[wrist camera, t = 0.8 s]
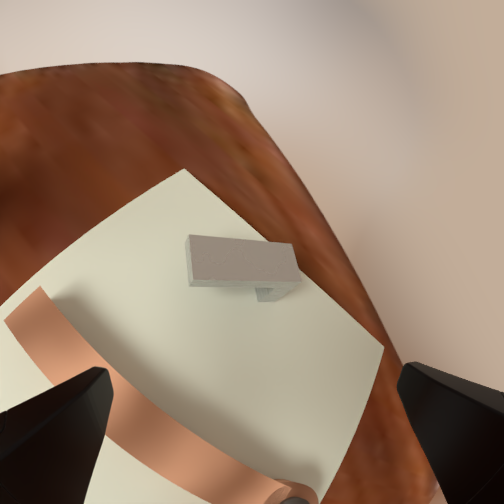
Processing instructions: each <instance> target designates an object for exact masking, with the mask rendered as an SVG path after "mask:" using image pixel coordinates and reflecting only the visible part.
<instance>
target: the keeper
mask: <svg viewBox="0 0 504 504" xmlns="http://www.w3.org/2000/svg"><path fill="white" fill-rule="evenodd" d="M185 252H186V264H187V275H188V285H189V287H236V288H255V292H256V297H257V302H275V301H276V300H278V299H279V298H280V297H282V296H283V295H285V294H286V293H287V292H289V291H290V290H292V289H293V288H294V287H296V286H297V285H299V284H300V283H301V282H302V279H301V276H300V272H299V268H298V265H297V261H296V258H295V254H294V250H293V247H292V244H286V243H276V242H266V241H256V240H246V239H235V238H225V237H214V236H203V235H192V234H189V235H188V237H187V239H186V241H185Z"/></svg>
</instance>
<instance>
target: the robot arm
mask: <svg viewBox="0 0 504 504" xmlns="http://www.w3.org/2000/svg"><path fill="white" fill-rule="evenodd" d="M397 391H398V394H399V396H400V399H401V401H402V404H403V406H404V409H405V411H406V414H407V417H408V419H409V422H410V424H411V426H412V429H413V431H414V433H415V435H416V437H417V439H418V441H419V443H420V445H421V447H422V449H423V451H424V453H425V455H426V457H427V459H428V461H429V463H430V465H431V468H432V470H433V472H434V474H435V476H436V478H437V481H438V483H439V485H440V487H441V489H442V492H443V494H444V496H445V499H446V501H447V503H448V504H504V392H500V391H498V390H495V389H491V388H489V387H486V386H483V385H480V384H477V383H474V382H471V381H468V380H465V379H462V378H459V377H457V376H454V375H451V374H448V373H446V372H443V371H440V370H437V369H435V368H432V367H429V366H427V365H424V364H421V363H418V362H410V363H406V364H405V365H404V366H403V368H402V371H401V374H400V377H399V379H398V382H397ZM113 397H114V390H113V386H112V382H111V378H110V374H109V371H108V369H106V368H104V367H98V366H94V367H91V368H90V369H88V370H86V371H84V372H82V373H80V374H78V375H76V376H74V377H72V378H70V379H68V380H66V381H64V382H62V383H60V384H58V385H56V386H54V387H52V388H50V389H48V390H46V391H44V392H42V393H40V394H38V395H36V396H34V397H32V398H30V399H28V400H26V401H24V402H22V403H20V404H18V405H16V406H14V407H12V408H10V409H8V410H7V411H3V412H1V413H0V504H84V501H85V498H86V494H87V491H88V487H89V484H90V481H91V477H92V474H93V471H94V468H95V464H96V461H97V458H98V455H99V452H100V449H101V446H102V443H103V440H104V437H105V432H106V428H107V423H108V419H109V414H110V410H111V406H112V401H113Z"/></svg>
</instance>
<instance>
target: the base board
mask: <svg viewBox="0 0 504 504" xmlns="http://www.w3.org/2000/svg"><path fill="white" fill-rule="evenodd" d="M189 234H192V235H203V236H214V237H225V238H235V239H246V240H256V241H266V242H268V241H267V240H266V239H265V238H264V237H263V236H261V235H260V234H259V233H258V232H257V231H256V230H255V229H253V228H252V227H251V226H250V225H249V224H248V223H247V222H245V221H244V220H243V219H242V218H241V217H240V216H239V215H237V214H236V213H235V212H234V211H233V210H232V209H231V208H229V207H228V206H227V205H226V204H225V203H224V202H222V201H221V200H220V199H219V198H218V197H217V196H216V195H214V194H213V193H212V192H211V191H210V190H209V189H207V188H206V187H205V186H204V185H203V184H202V183H200V182H199V181H198V180H197V179H196V178H195V177H193V176H192V175H191V174H190V173H189V172H188V171H186V170H185V169H183V170H181V171H179V172H178V173H176V174H174V175H173V176H171V177H169V178H168V179H166V180H164V181H163V182H161V183H159V184H158V185H156V186H155V187H153V188H151V189H150V190H148V191H147V192H145V193H144V194H142V195H140V196H139V197H137V198H136V199H134V200H133V201H131V202H130V203H128V204H127V205H125V206H124V207H122V208H121V209H119V210H118V211H116V212H115V213H114V214H112V215H111V216H109V217H108V218H106V219H105V220H104V221H102V222H101V223H99V224H98V225H97V226H95V227H94V228H93V229H91V230H90V231H89V232H87V233H86V234H85V235H83V236H82V237H81V238H79V239H78V240H77V241H75V242H74V243H73V244H71V245H70V246H69V247H68V248H66V249H65V250H64V251H63V252H61V253H60V254H59V255H58V256H56V257H55V258H54V259H53V260H52V261H50V262H49V263H48V264H47V265H46V266H44V267H43V268H42V269H41V270H40V271H38V272H37V273H36V274H35V275H34V276H33V277H32V278H30V279H29V280H28V281H27V282H26V283H25V284H24V285H23V286H22V287H20V288H19V289H18V290H17V291H16V292H15V293H14V294H13V295H12V296H11V297H10V298H9V299H8V300H7V301H6V302H5V303H4V304H3V305H1V306H0V413H1V412H3V411H7V410H8V409H10V408H12V407H14V406H16V405H18V404H20V403H22V402H24V401H26V400H28V399H30V398H32V397H34V396H36V395H38V394H40V393H42V392H44V391H46V390H48V389H50V388H52V387H54V385H53V384H52V383H51V382H50V381H49V380H48V378H47V377H46V376H45V375H44V374H43V373H42V372H41V370H40V369H39V368H38V367H37V365H36V364H35V363H34V362H33V361H32V359H31V358H30V357H29V355H28V354H27V353H26V352H25V350H24V349H23V348H22V346H21V345H20V344H19V342H18V341H17V339H16V338H15V337H14V335H13V334H12V332H11V331H10V329H9V328H8V327H7V325H6V324H5V322H4V319H5V318H6V317H7V316H8V315H9V314H10V313H11V312H12V311H13V310H14V309H15V308H17V307H18V306H19V305H20V304H21V303H22V302H23V301H24V300H25V299H26V298H27V297H28V296H29V295H30V294H31V293H32V292H34V291H35V290H36V289H37V288H38V287H39V286H41V287H42V289H43V290H44V291H45V293H46V294H47V295H48V297H49V298H50V299H51V300H52V302H53V303H54V304H55V305H56V307H57V308H58V309H59V310H60V312H61V313H62V314H63V315H64V316H65V318H66V319H67V320H68V321H69V322H70V323H71V325H72V326H73V327H74V328H75V329H76V330H77V331H78V332H79V334H80V335H81V336H82V337H83V338H84V339H85V340H86V341H87V342H88V343H89V344H90V345H91V346H92V347H93V349H94V350H95V351H96V352H97V353H98V354H99V355H100V356H101V357H102V358H103V359H104V360H105V361H106V362H107V363H108V364H109V365H111V366H112V367H113V368H114V369H115V370H116V371H117V372H118V373H119V374H120V375H121V376H122V377H123V378H124V379H126V380H127V381H128V382H129V383H130V384H131V385H132V386H133V387H135V388H136V389H137V390H138V391H139V392H140V393H142V394H143V395H144V396H145V397H146V398H148V399H149V400H150V401H151V402H152V403H154V404H155V405H156V406H157V407H159V408H160V409H161V410H163V411H164V412H165V413H166V414H168V415H169V416H170V417H172V418H173V419H174V420H176V421H177V422H178V423H180V424H181V425H183V426H184V427H185V428H187V429H188V430H190V431H191V432H193V433H194V434H196V435H197V436H198V437H200V438H201V439H203V440H204V441H206V442H208V443H209V444H211V445H212V446H214V447H215V448H217V449H219V450H220V451H222V452H224V453H225V454H227V455H229V456H230V457H232V458H234V459H235V460H237V461H239V462H241V463H242V464H244V465H246V466H248V467H250V468H252V469H253V470H255V471H257V472H259V473H261V474H263V475H265V476H267V477H269V478H271V479H285V480H289V481H293V482H296V483H300V484H304V485H307V486H309V487H311V488H312V489H313V490H314V491H315V493H316V494H317V497H318V501H319V504H320V502H321V500H322V499H323V497H324V495H325V493H326V492H327V490H328V488H329V486H330V484H331V482H332V480H333V478H334V476H335V475H336V473H337V471H338V469H339V466H340V464H341V462H342V460H343V458H344V456H345V454H346V452H347V450H348V447H349V445H350V443H351V441H352V438H353V436H354V434H355V431H356V429H357V426H358V424H359V421H360V419H361V416H362V414H363V411H364V409H365V406H366V403H367V400H368V398H369V395H370V392H371V389H372V386H373V383H374V380H375V377H376V374H377V371H378V368H379V364H380V361H381V358H382V354H383V351H384V346H383V345H382V344H380V343H379V342H378V341H377V340H376V339H375V338H374V337H373V336H372V335H371V334H370V333H369V332H368V331H366V330H365V329H364V328H363V327H362V326H361V325H360V324H359V323H358V322H357V321H356V320H355V319H353V318H352V317H351V316H350V315H349V314H348V313H347V312H346V311H345V310H344V309H343V308H342V307H340V306H339V305H338V304H337V303H336V302H335V301H334V300H333V299H332V298H331V297H329V296H328V295H327V294H326V293H325V292H324V291H323V290H322V289H321V288H320V287H318V286H317V285H316V284H315V283H314V282H313V281H312V280H311V279H310V278H308V277H307V276H306V275H305V274H304V273H303V272H302V271H301V270H300V269H299V272H300V276H301V279H302V282H301V283H300V284H299V285H297V286H296V287H294V288H293V289H292V290H290V291H289V292H287V293H286V294H285V295H283V296H282V297H280V298H279V299H278V300H276V301H275V302H257V297H256V292H255V288H236V287H189V285H188V275H187V264H186V252H185V241H186V239H187V237H188V235H189ZM84 504H211V503H209V502H207V501H205V500H203V499H201V498H199V497H197V496H195V495H193V494H191V493H190V492H188V491H186V490H184V489H182V488H181V487H179V486H177V485H176V484H174V483H172V482H170V481H169V480H167V479H166V478H164V477H162V476H161V475H159V474H158V473H156V472H155V471H153V470H152V469H150V468H149V467H147V466H146V465H144V464H143V463H141V462H140V461H138V460H137V459H136V458H134V457H133V456H132V455H130V454H129V453H127V452H126V451H125V450H124V449H122V448H121V447H120V446H118V445H117V444H116V443H115V442H113V441H112V440H111V439H110V438H108V437H107V436H106V435H105V437H104V440H103V443H102V446H101V449H100V452H99V455H98V458H97V461H96V464H95V468H94V471H93V474H92V477H91V481H90V484H89V487H88V491H87V494H86V498H85V501H84Z"/></svg>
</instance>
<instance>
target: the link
mask: <svg viewBox="0 0 504 504" xmlns="http://www.w3.org/2000/svg"><path fill="white" fill-rule="evenodd" d="M4 322H5V324H6V325H7V327H8V328H9V329H10V331H11V332H12V334H13V335H14V337H15V338H16V339H17V341H18V342H19V344H20V345H21V346H22V348H23V349H24V350H25V352H26V353H27V354H28V355H29V357H30V358H31V359H32V361H33V362H34V363H35V364H36V365H37V367H38V368H39V369H40V370H41V372H42V373H43V374H44V375H45V376H46V377H47V378H48V380H49V381H50V382H51V383H52V384H53V385H54V386H56V385H58V384H60V383H62V382H64V381H66V380H68V379H70V378H72V377H74V376H76V375H78V374H80V373H82V372H84V371H86V370H88V369H90V368H91V367H94V366H98V367H104V368H106V369H108V371H109V374H110V378H111V382H112V386H113V390H114V397H113V401H112V406H111V410H110V414H109V419H108V423H107V428H106V432H105V435H106V436H107V437H108V438H110V439H111V440H112V441H113V442H115V443H116V444H117V445H118V446H120V447H121V448H122V449H124V450H125V451H126V452H127V453H129V454H130V455H132V456H133V457H134V458H136V459H137V460H138V461H140V462H141V463H143V464H144V465H146V466H147V467H149V468H150V469H152V470H153V471H155V472H156V473H158V474H159V475H161V476H162V477H164V478H166V479H167V480H169V481H170V482H172V483H174V484H176V485H177V486H179V487H181V488H182V489H184V490H186V491H188V492H190V493H191V494H193V495H195V496H197V497H199V498H201V499H203V500H205V501H207V502H209V503H211V504H319V501H318V497H317V494H316V493H315V491H314V490H313V489H312V488H311V487H309V486H307V485H304V484H300V483H296V482H293V481H289V480H285V479H271V478H269V477H267V476H265V475H263V474H261V473H259V472H257V471H255V470H253V469H252V468H250V467H248V466H246V465H244V464H242V463H241V462H239V461H237V460H235V459H234V458H232V457H230V456H229V455H227V454H225V453H224V452H222V451H220V450H219V449H217V448H215V447H214V446H212V445H211V444H209V443H208V442H206V441H204V440H203V439H201V438H200V437H198V436H197V435H196V434H194V433H193V432H191V431H190V430H188V429H187V428H185V427H184V426H183V425H181V424H180V423H178V422H177V421H176V420H174V419H173V418H172V417H170V416H169V415H168V414H166V413H165V412H164V411H163V410H161V409H160V408H159V407H157V406H156V405H155V404H154V403H152V402H151V401H150V400H149V399H148V398H146V397H145V396H144V395H143V394H142V393H140V392H139V391H138V390H137V389H136V388H135V387H133V386H132V385H131V384H130V383H129V382H128V381H127V380H126V379H124V378H123V377H122V376H121V375H120V374H119V373H118V372H117V371H116V370H115V369H114V368H113V367H112V366H111V365H109V364H108V363H107V362H106V361H105V360H104V359H103V358H102V357H101V356H100V355H99V354H98V353H97V352H96V351H95V350H94V349H93V347H92V346H91V345H90V344H89V343H88V342H87V341H86V340H85V339H84V338H83V337H82V336H81V335H80V334H79V332H78V331H77V330H76V329H75V328H74V327H73V326H72V325H71V323H70V322H69V321H68V320H67V319H66V318H65V316H64V315H63V314H62V313H61V312H60V310H59V309H58V308H57V307H56V305H55V304H54V303H53V302H52V300H51V299H50V298H49V297H48V295H47V294H46V293H45V291H44V290H43V289H42V287H41V286H39V287H38V288H37V289H36V290H35V291H34V292H32V293H31V294H30V295H29V296H28V297H27V298H26V299H25V300H24V301H23V302H22V303H21V304H20V305H19V306H18V307H17V308H15V309H14V310H13V311H12V312H11V313H10V314H9V315H8V316H7V317H6V318H5V319H4Z"/></svg>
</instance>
